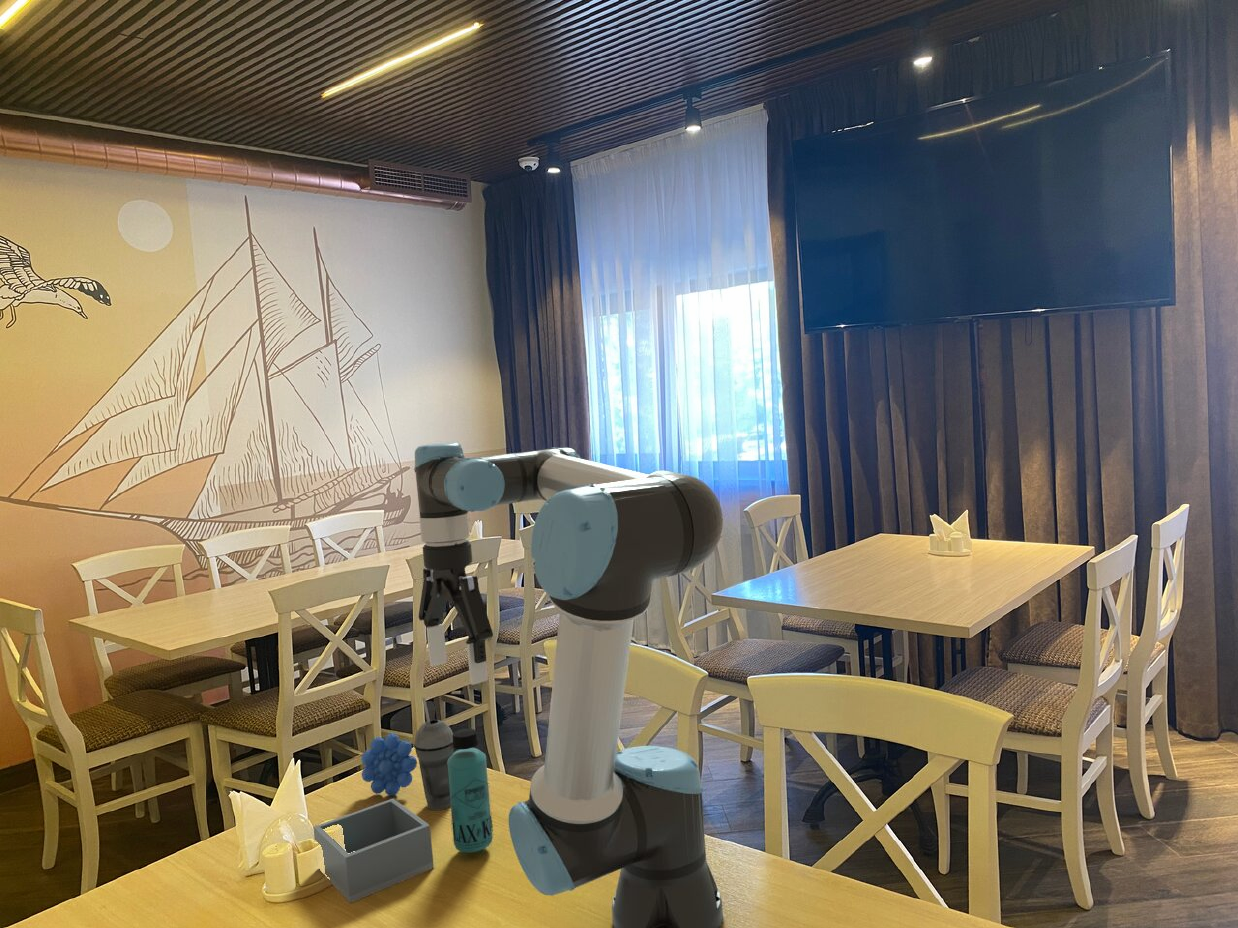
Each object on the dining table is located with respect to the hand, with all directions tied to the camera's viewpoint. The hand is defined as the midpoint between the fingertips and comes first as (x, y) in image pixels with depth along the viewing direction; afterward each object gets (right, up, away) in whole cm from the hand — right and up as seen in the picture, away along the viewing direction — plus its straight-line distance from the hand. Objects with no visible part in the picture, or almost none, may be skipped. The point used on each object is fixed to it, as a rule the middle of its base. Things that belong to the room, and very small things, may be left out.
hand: (458, 673), depth 144 cm
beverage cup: (-7, -29, +20) cm, 36 cm away
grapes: (-17, -29, +27) cm, 43 cm away
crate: (-13, -31, -1) cm, 33 cm away
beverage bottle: (+2, -30, +2) cm, 30 cm away
